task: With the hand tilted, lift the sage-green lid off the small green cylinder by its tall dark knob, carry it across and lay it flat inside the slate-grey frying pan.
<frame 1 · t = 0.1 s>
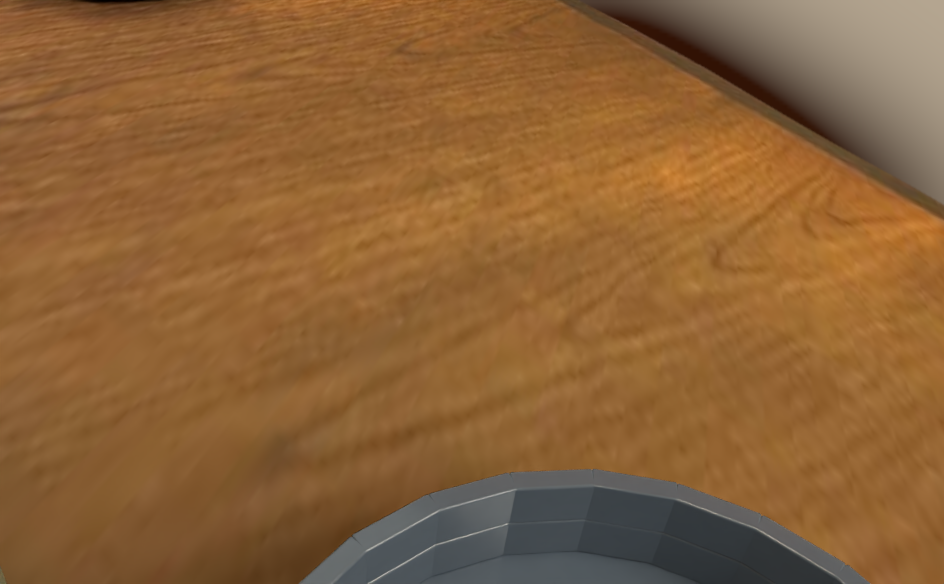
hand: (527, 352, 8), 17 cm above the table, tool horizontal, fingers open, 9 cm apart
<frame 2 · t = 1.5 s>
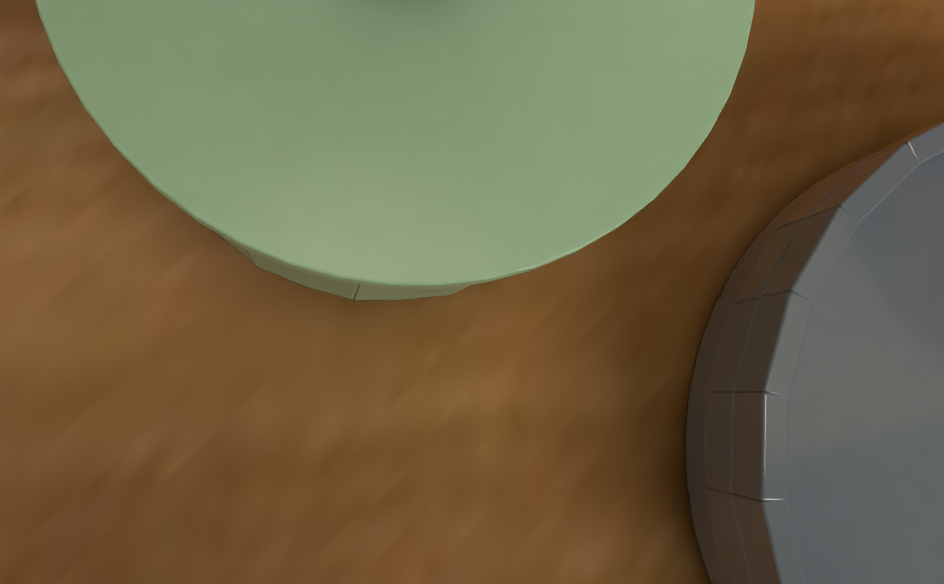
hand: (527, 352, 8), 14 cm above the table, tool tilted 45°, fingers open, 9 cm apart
green cylinder: (385, 68, 22), on the table
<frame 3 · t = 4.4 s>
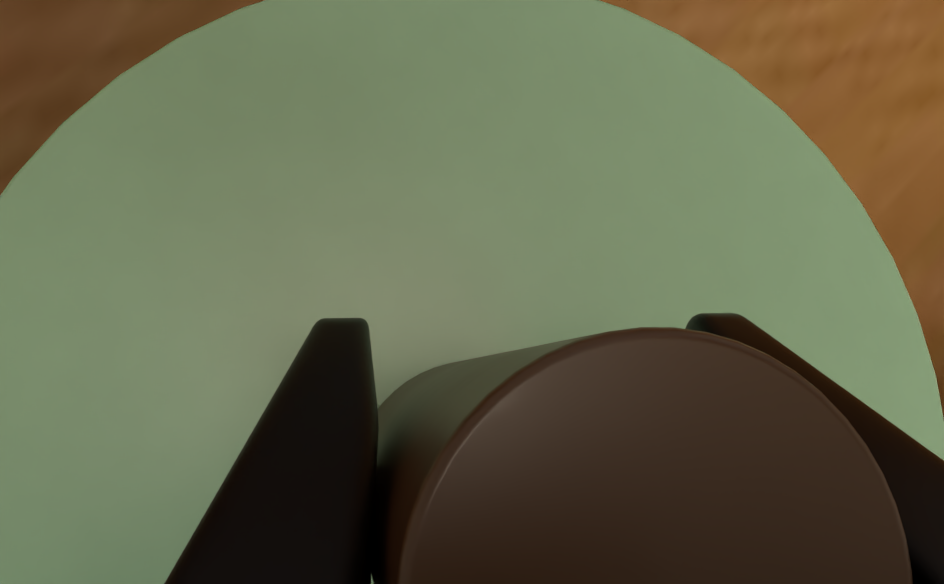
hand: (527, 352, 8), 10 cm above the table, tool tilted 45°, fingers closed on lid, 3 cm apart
lid: (465, 477, 11), point 7 cm above the table, touching gripper, green cylinder
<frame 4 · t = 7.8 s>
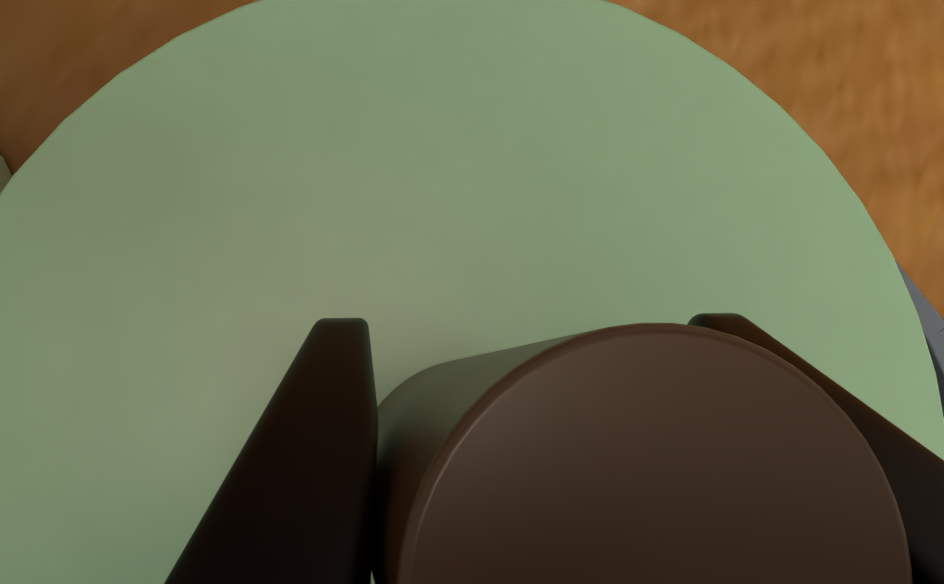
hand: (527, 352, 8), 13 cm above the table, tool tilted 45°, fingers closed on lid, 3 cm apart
lid: (465, 475, 11), point 10 cm above the table, touching gripper
pan: (568, 527, 21), on the table
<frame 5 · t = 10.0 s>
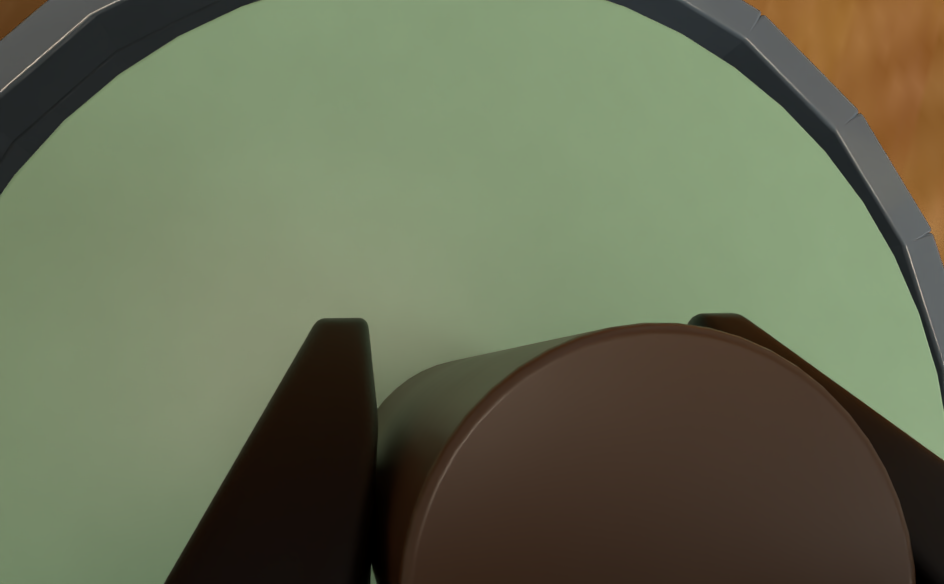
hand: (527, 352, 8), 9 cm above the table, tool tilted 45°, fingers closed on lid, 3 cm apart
lid: (467, 475, 11), point 6 cm above the table, touching gripper
pan: (419, 440, 17), on the table
when the fingers open (5 cm above the table, at t = 11.4 s): lid stays where it is, resting on pan.
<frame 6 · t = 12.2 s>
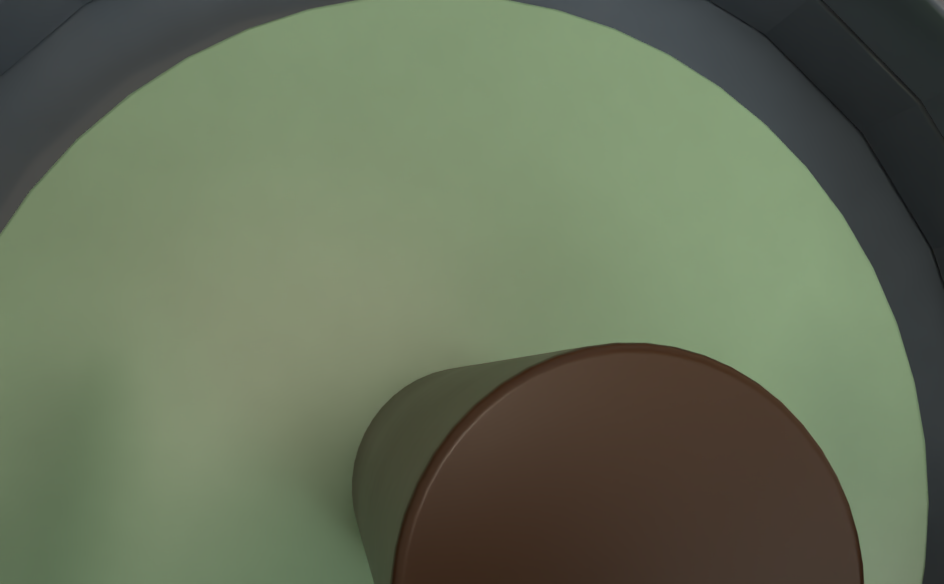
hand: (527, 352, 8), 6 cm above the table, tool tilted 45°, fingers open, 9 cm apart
lid: (461, 479, 11), point 2 cm above the table, touching pan
pan: (444, 466, 13), on the table
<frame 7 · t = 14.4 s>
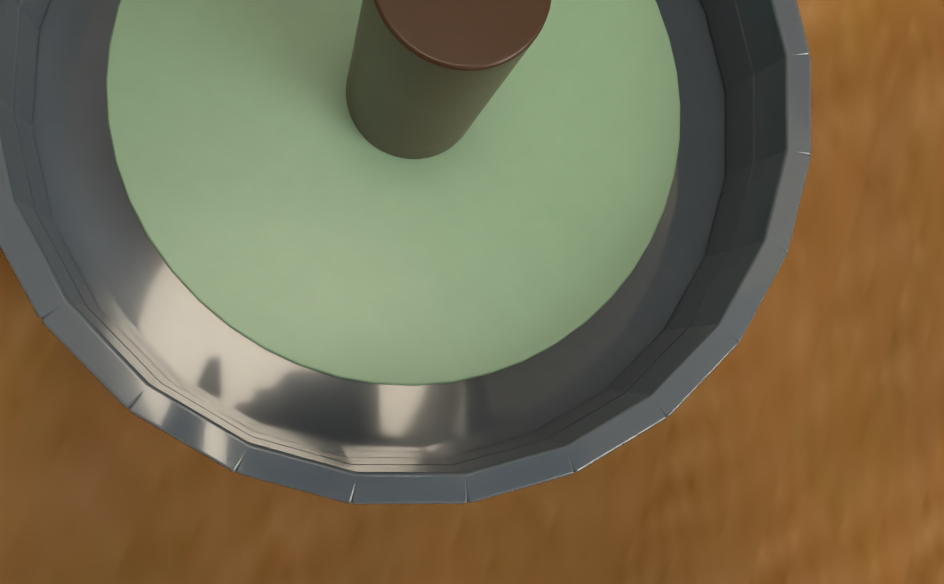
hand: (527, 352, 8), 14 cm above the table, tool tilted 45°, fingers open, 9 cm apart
lid: (408, 102, 20), point 2 cm above the table, touching pan
pan: (399, 123, 22), on the table
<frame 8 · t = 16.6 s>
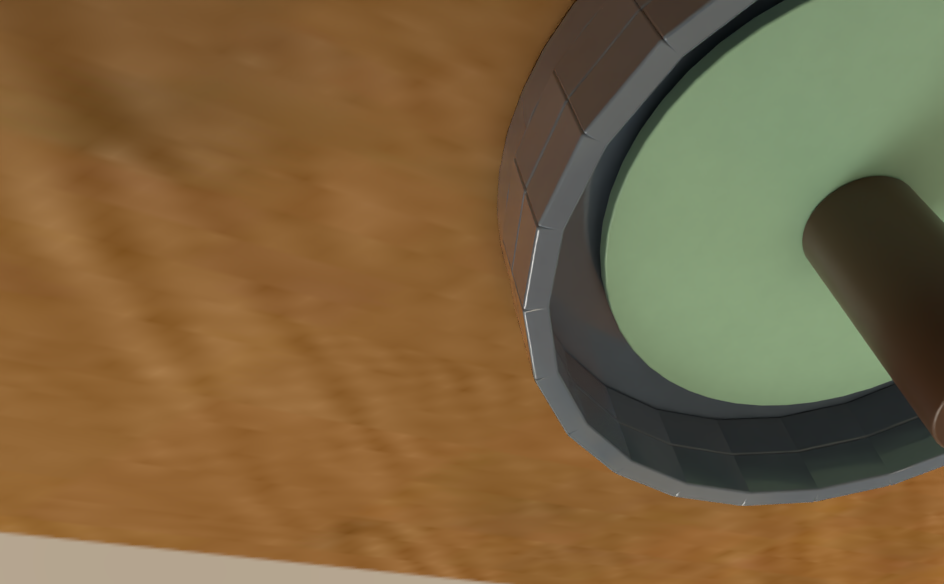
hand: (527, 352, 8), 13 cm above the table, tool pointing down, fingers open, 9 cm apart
lid: (848, 213, 22), point 2 cm above the table, touching pan
pan: (817, 174, 23), on the table
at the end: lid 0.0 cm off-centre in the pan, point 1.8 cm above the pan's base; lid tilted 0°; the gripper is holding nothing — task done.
